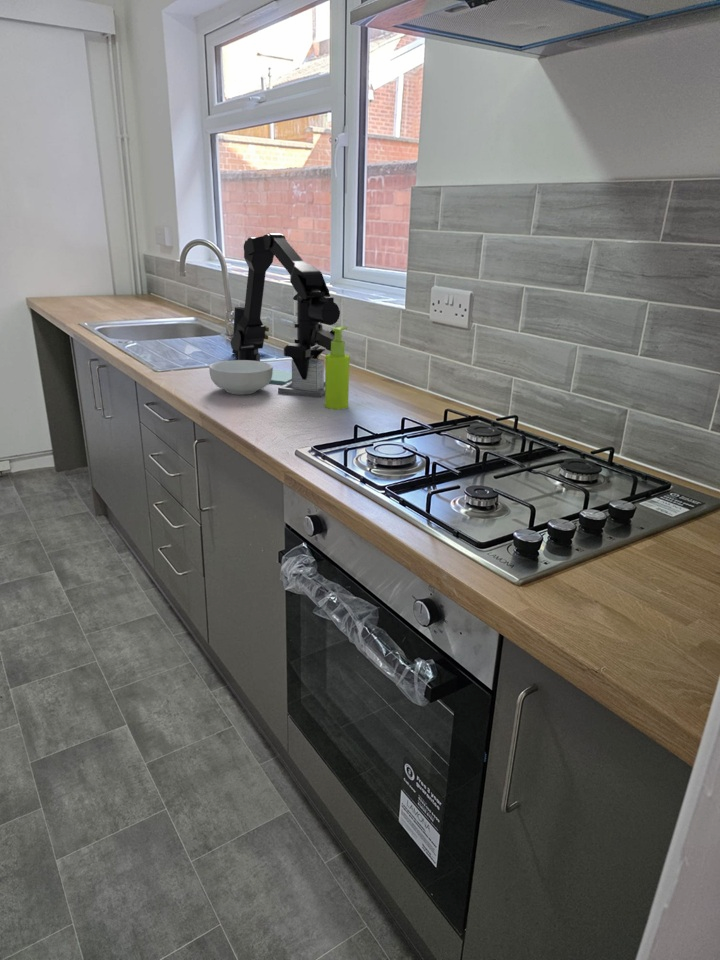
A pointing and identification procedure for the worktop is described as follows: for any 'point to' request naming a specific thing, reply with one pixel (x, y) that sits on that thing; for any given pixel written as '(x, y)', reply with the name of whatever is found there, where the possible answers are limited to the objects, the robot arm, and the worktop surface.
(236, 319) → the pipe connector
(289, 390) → the hollow square frame
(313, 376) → the medicine box
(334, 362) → the soap dispenser
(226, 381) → the cereal bowl
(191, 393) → the worktop surface
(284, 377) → the board
